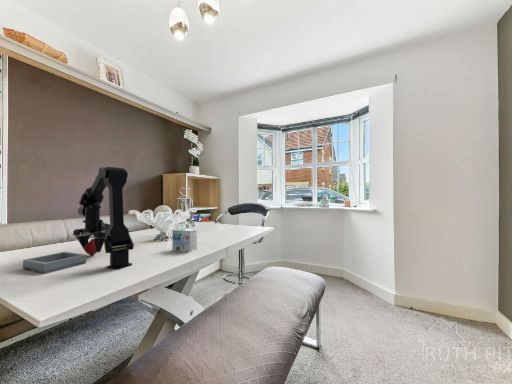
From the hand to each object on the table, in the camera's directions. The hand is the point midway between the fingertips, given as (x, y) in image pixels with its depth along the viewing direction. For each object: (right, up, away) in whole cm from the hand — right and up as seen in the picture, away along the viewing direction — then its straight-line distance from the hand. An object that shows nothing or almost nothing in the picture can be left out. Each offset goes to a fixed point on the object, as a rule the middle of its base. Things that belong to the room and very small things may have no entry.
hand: (92, 251), depth 107 cm
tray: (-3, -2, -16) cm, 16 cm away
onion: (0, -2, 0) cm, 2 cm away
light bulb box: (+40, -3, +11) cm, 41 cm away
